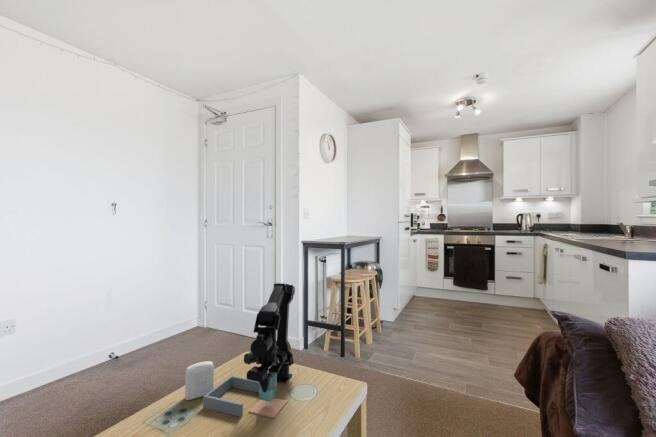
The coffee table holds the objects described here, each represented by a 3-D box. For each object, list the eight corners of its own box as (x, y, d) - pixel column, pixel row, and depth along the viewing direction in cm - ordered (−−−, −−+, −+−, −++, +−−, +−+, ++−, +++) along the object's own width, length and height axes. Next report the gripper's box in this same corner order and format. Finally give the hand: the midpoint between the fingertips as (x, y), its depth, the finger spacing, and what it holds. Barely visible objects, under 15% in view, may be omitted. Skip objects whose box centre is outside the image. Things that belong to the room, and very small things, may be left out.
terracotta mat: (263, 396, 114) (263, 395, 114) (287, 401, 111) (287, 400, 111) (248, 412, 105) (248, 411, 105) (274, 418, 101) (274, 417, 101)
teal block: (265, 392, 111) (265, 370, 111) (276, 394, 109) (276, 372, 110) (259, 399, 107) (259, 376, 107) (270, 401, 105) (270, 378, 105)
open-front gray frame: (231, 385, 123) (231, 375, 123) (265, 392, 117) (265, 381, 117) (203, 407, 108) (203, 396, 108) (241, 416, 102) (241, 405, 102)
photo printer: (212, 388, 120) (212, 357, 120) (214, 393, 117) (215, 361, 117) (184, 396, 114) (184, 364, 115) (185, 402, 111) (186, 368, 111)
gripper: (262, 333, 120) (262, 372, 120) (233, 352, 102) (233, 398, 102) (287, 336, 116) (287, 377, 116) (261, 356, 99) (261, 404, 98)
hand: (268, 388), depth 108 cm, fingers closed on teal block, 4 cm apart
